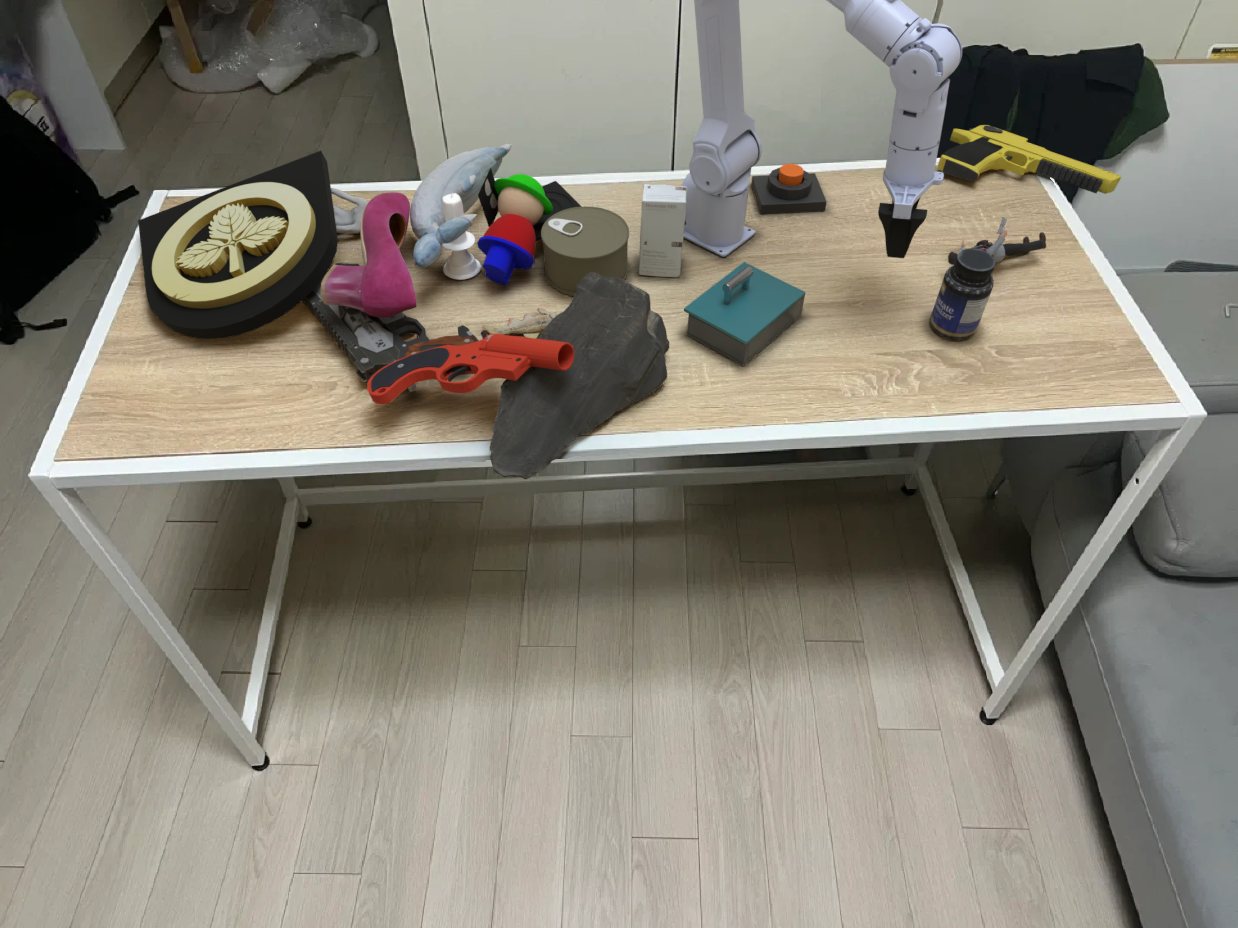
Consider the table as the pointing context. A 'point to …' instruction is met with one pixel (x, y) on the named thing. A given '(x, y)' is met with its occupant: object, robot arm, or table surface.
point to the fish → (525, 325)
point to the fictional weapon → (376, 334)
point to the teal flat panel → (744, 302)
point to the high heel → (376, 263)
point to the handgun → (1018, 159)
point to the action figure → (1003, 246)
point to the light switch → (555, 204)
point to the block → (787, 194)
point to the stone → (581, 375)
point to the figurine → (348, 213)
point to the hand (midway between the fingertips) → (898, 239)
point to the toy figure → (510, 223)
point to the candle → (459, 244)
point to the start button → (791, 174)
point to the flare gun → (470, 364)
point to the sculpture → (449, 177)
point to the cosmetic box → (662, 230)
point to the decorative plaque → (241, 251)
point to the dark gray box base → (736, 348)
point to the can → (584, 246)
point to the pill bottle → (963, 295)
